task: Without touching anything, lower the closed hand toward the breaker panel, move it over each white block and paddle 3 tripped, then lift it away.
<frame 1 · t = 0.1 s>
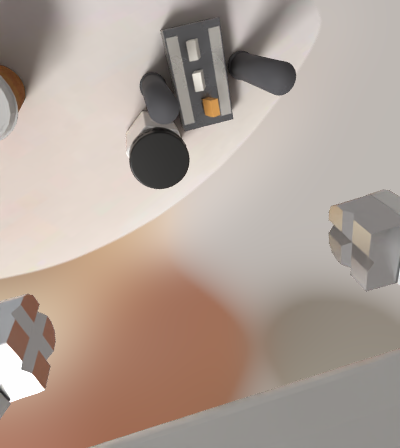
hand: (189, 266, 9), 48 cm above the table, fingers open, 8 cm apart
paddle 3 tripped: (211, 107, 50), point 5 cm above the table, hinge at -20.0°
white block 1: (193, 49, 45), point 5 cm above the table, hinge at 20.0°
jar: (153, 136, 55), on the table
disposable coffee cup: (1, 88, 47), on the table
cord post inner: (153, 86, 51), on the table
cord post outer: (240, 65, 52), on the table
white block 2: (199, 80, 47), point 5 cm above the table, hinge at 20.0°
breaker panel: (196, 75, 51), on the table
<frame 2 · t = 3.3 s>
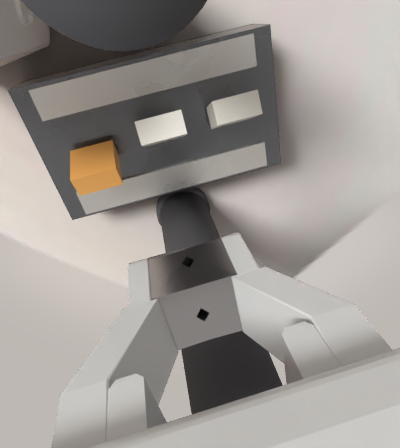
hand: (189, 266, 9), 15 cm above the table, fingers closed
paddle 3 tripped: (96, 167, 18), point 5 cm above the table, hinge at -20.0°
white block 1: (232, 110, 18), point 5 cm above the table, hinge at 20.0°
cord post outer: (182, 208, 26), on the table
white block 2: (161, 129, 18), point 5 cm above the table, hinge at 20.0°
breaker panel: (158, 118, 22), on the table
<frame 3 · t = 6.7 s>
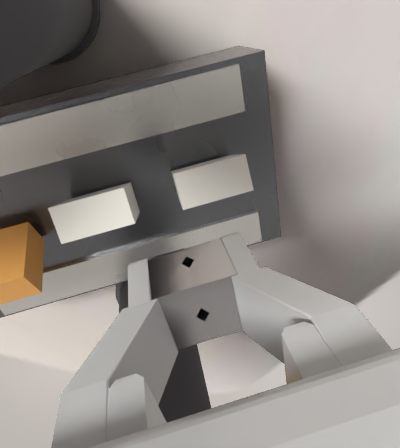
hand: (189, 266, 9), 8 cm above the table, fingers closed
paddle 3 tripped: (2, 265, 12), point 5 cm above the table, hinge at -20.0°
white block 1: (208, 179, 12), point 5 cm above the table, hinge at 20.0°
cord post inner: (42, 0, 12), on the table
cord post outer: (151, 282, 19), on the table
white block 2: (99, 210, 12), point 5 cm above the table, hinge at 20.0°
breaker panel: (109, 175, 16), on the table
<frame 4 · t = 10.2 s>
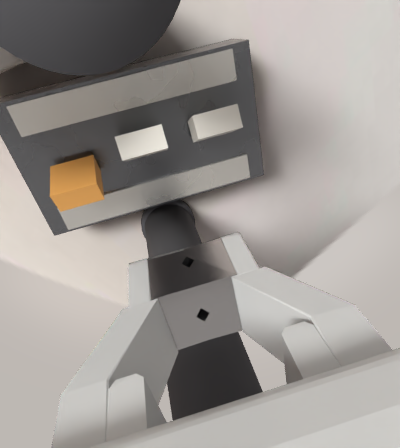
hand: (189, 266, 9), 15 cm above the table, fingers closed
paddle 3 tripped: (77, 182, 18), point 5 cm above the table, hinge at -20.0°
white block 1: (213, 124, 18), point 5 cm above the table, hinge at 20.0°
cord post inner: (102, 8, 18), on the table
cord post outer: (167, 220, 26), on the table
white block 2: (142, 143, 18), point 5 cm above the table, hinge at 20.0°
breaker panel: (140, 132, 22), on the table
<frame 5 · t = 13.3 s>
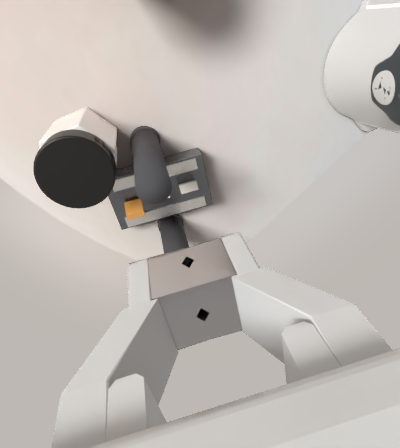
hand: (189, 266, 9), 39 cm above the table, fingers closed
paddle 3 tripped: (134, 209, 46), point 5 cm above the table, hinge at -20.0°
white block 1: (188, 186, 46), point 5 cm above the table, hinge at 20.0°
jar: (86, 140, 45), on the table
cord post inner: (144, 140, 46), on the table
cord post outer: (170, 223, 54), on the table
breaker panel: (158, 185, 50), on the table
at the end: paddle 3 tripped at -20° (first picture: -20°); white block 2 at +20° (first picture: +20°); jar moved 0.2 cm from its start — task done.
